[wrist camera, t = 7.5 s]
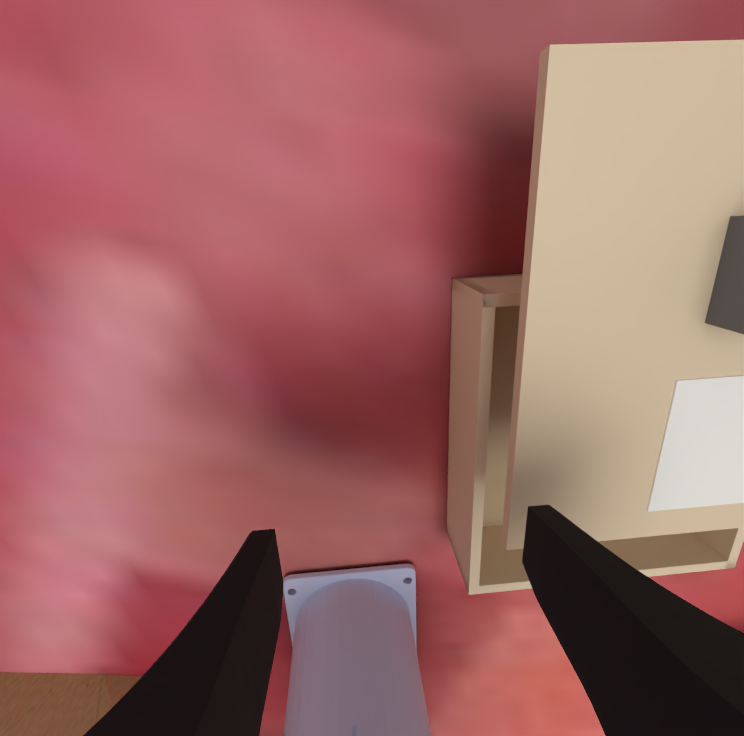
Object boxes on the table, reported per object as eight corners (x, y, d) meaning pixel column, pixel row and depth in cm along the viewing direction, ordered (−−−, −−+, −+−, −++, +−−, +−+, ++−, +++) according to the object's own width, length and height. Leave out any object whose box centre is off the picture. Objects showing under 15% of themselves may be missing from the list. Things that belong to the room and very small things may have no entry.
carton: (669, 510, 26) (734, 567, 21) (446, 530, 25) (468, 594, 21) (731, 261, 20) (833, 273, 16) (451, 277, 20) (483, 294, 15)
